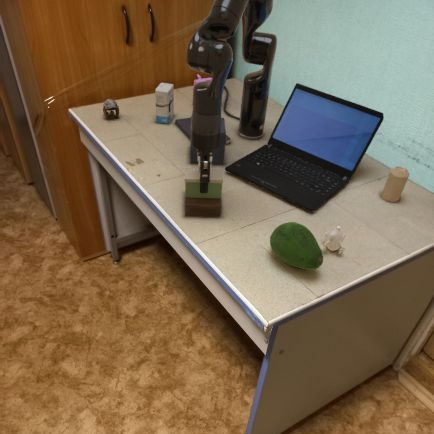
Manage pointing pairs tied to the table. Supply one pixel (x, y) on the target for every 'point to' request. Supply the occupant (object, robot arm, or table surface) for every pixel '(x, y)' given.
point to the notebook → (186, 126)
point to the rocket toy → (334, 239)
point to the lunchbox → (194, 184)
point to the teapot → (201, 80)
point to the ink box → (164, 102)
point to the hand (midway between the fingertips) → (203, 184)
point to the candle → (395, 184)
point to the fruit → (296, 246)
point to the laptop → (311, 148)
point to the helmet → (110, 108)
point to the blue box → (216, 154)
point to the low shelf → (203, 207)
